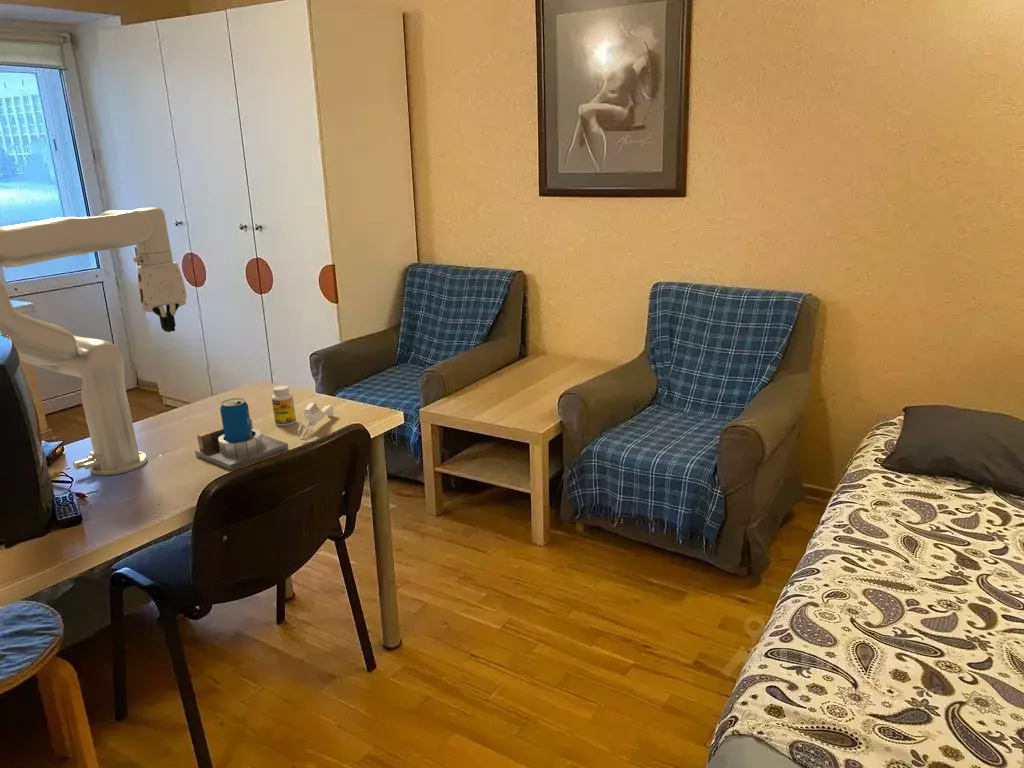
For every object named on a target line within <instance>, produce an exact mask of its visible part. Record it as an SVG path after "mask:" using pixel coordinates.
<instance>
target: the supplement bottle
mask: <svg viewBox="0 0 1024 768" xmlns="http://www.w3.org/2000/svg"><path fill="white" fill-rule="evenodd" d="M271 402H272V410H273V416H274V423H275V425H276V426H279V427H285V426H290V425H293V424H295V423H296V421H297V419H296V417H297V416H296V411H295V410H296V409H295V405H294V403H295V402H294V396H293V394H292V392H290V389H289V386H287V385H278V386H275V387H274V388H273V395H272V396H271Z"/></svg>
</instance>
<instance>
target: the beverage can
mask: <svg viewBox="0 0 1024 768" xmlns="http://www.w3.org/2000/svg"><path fill="white" fill-rule="evenodd" d="M220 404H221V406H220V408H219V411H220V416H221V417H220V418H221V424H222V426H223V429H224V435H225V441H228V442H237V441H243V440H247V439H250V438H252V437H253V434H252V428H251V422H250V419H251V417H250V411H249V404H248V403H247V402H246V399H245V398H242V397H234V398H228V399H226V400H223V401H222V402H221V403H220Z"/></svg>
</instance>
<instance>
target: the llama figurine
mask: <svg viewBox="0 0 1024 768" xmlns="http://www.w3.org/2000/svg"><path fill="white" fill-rule="evenodd" d="M303 412H304V413H303V414H302V415H301V420H300V424H299V426H298V429H296V433H298V434H300V433H301V435H300V436H299V440H303V436H304V435H305V434H306V435H305V437H304V440H307V438H308V436H309V434H310V431H311V430H312V429H313V427H314V426H316V425H317V423H318V422H320V421H322V420H323V419H324V418H325V417H326V416H327V417H328V416H333V417H334V406H333V405H332V404H329V405H325V406H324V407H323V408H322V409H320V408H319V407H318V405H317V404H316V402H309V403H308V404H307V406H306V407H305V408H304V410H303ZM304 418H305V419H304ZM307 421H308V422H307ZM303 422H304V425H303ZM302 425H303V428H302ZM309 427H310V428H309ZM301 428H302V429H301ZM308 429H309V430H308ZM307 430H308V432H307ZM300 431H301V432H300ZM306 432H307V433H306Z"/></svg>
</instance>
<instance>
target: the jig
mask: <svg viewBox="0 0 1024 768" xmlns="http://www.w3.org/2000/svg"><path fill="white" fill-rule="evenodd" d="M252 421H253V420H252V419H251V418H250V422H251V428H252V434H253V437H252V438H250V439H247V440H243V441H237V442H228V441H225V435H224V429H223V425H222V426H220V427H217V428H213V429H210V430H207V431H205V432H201V433H198V434H197V435H196V436H197V441H198V448H199V449H196V450H194V452H195V457H197V458H199V457H200V459H201V458H202V460H204V461H207V462H209V463H211V464H213V465H216V466H217V467H218V466H219V467H221V468H223V469H225V470H228V471H230V472H232V471H235V470H237V469H239V468H242V467H245V466H247V465H250V464H253V463H255V462H258V461H261V460H263V459H267V458H268V457H271V456H274V455H277V454H279V453H281V452H284V451H288V450H289V443H287V442H284V441H282V440H278V439H276V438H273V437H270V436H268V435H264V434H262V431H261V430H260V429H256V428H254V427H253V422H252Z"/></svg>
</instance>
